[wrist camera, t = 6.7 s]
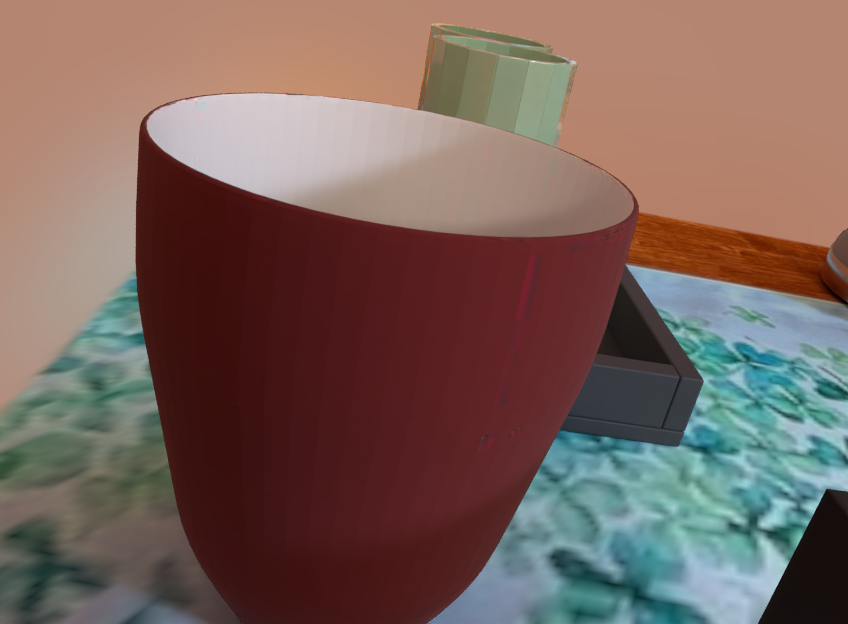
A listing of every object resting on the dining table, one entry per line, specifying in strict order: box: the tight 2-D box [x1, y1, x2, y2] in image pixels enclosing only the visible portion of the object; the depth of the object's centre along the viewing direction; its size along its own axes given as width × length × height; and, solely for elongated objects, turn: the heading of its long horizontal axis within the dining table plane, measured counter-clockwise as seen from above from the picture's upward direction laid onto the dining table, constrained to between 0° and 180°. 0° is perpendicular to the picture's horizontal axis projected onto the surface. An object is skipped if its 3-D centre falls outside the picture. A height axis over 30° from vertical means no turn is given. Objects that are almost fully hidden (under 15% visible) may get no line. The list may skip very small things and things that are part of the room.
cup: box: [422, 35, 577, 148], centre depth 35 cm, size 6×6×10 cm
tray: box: [560, 265, 704, 446], centre depth 35 cm, size 13×25×3 cm, turn 0°
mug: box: [136, 93, 639, 624], centre depth 15 cm, size 10×8×10 cm
